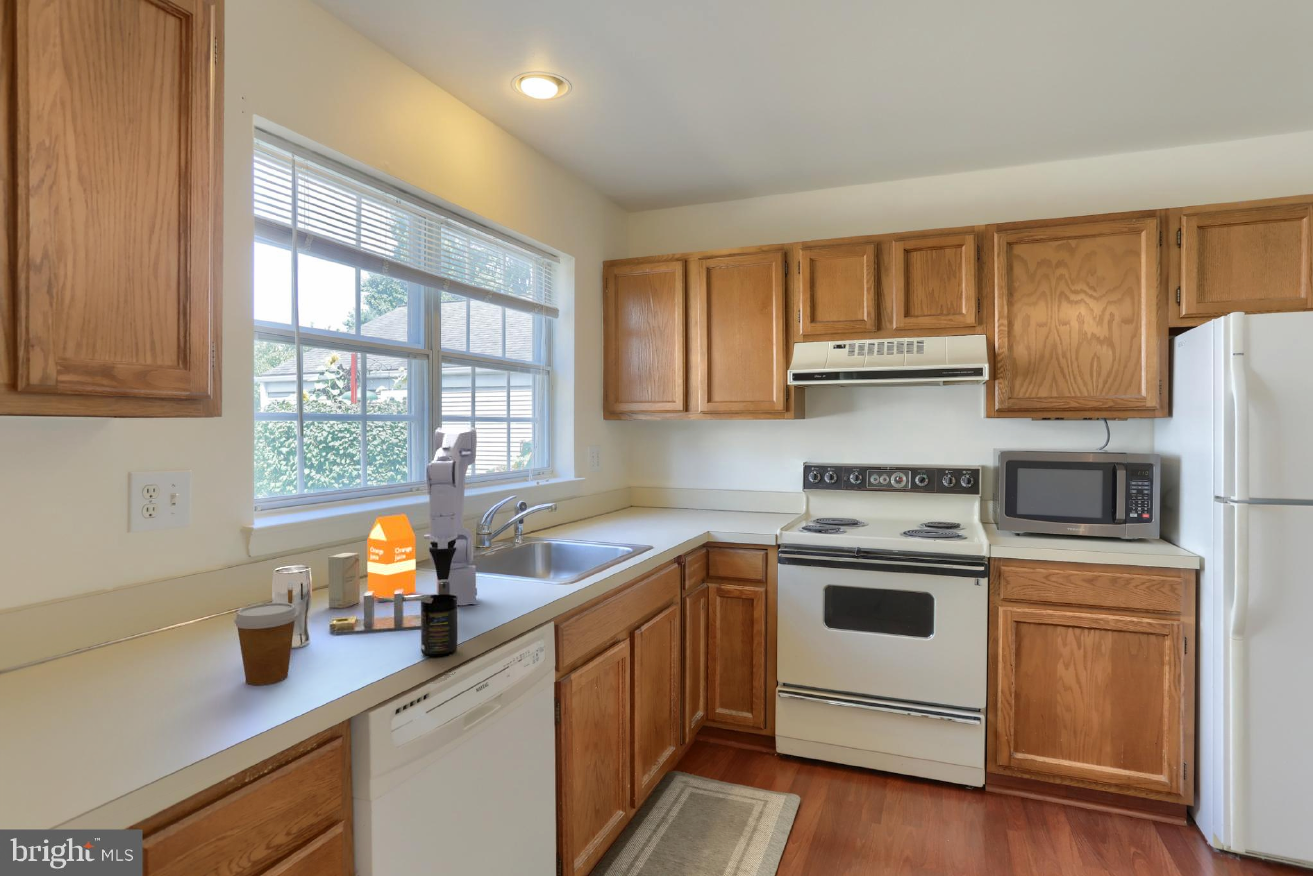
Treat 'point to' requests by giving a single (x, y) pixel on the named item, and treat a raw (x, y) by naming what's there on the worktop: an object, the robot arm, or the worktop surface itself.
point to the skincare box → (343, 580)
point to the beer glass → (295, 598)
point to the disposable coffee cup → (266, 641)
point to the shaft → (442, 589)
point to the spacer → (343, 623)
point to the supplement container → (439, 625)
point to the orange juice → (391, 556)
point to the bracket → (383, 618)
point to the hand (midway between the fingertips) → (443, 575)
